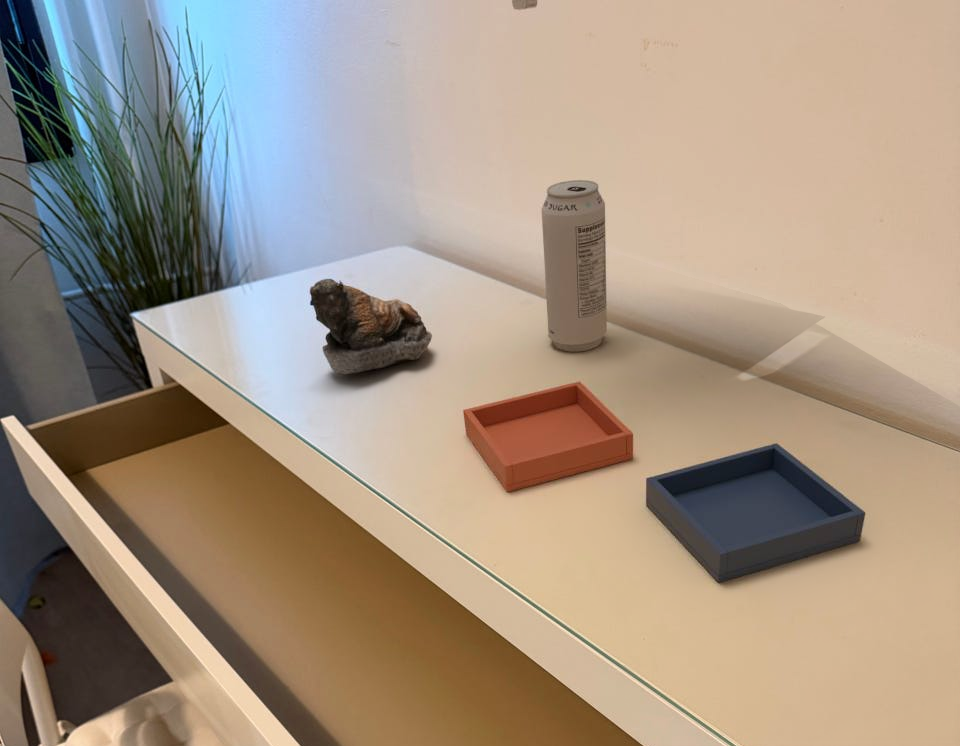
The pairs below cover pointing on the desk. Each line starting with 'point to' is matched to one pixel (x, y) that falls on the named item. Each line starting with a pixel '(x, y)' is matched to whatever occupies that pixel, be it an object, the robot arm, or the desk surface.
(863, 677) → the desk surface
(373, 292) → the desk surface
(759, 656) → the desk surface
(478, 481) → the desk surface
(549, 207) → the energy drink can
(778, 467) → the slate tray
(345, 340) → the bison figurine
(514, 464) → the terracotta tray
